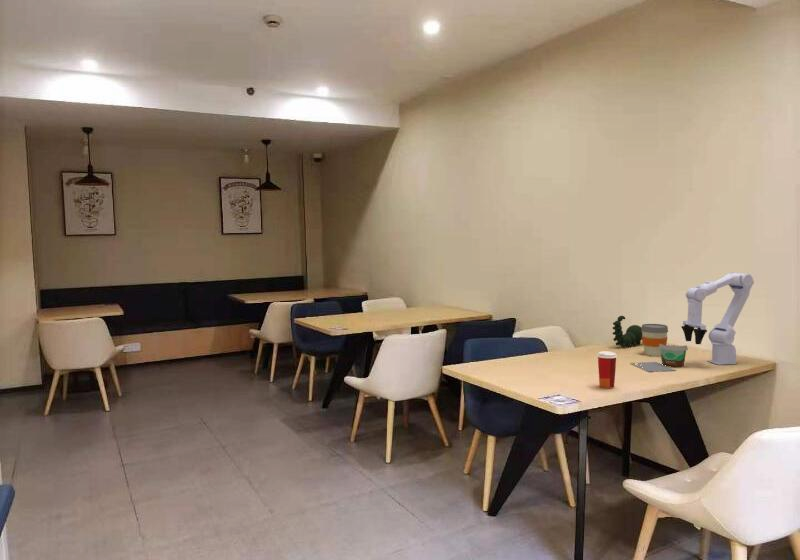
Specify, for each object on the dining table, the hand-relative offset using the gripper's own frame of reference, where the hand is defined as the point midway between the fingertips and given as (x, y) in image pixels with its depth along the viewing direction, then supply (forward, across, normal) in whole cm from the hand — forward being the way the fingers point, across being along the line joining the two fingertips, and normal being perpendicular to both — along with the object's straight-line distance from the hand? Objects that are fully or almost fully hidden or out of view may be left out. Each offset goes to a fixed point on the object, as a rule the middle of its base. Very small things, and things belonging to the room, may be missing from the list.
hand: (693, 342), depth 260 cm
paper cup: (+14, +27, -54) cm, 62 cm away
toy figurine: (+11, -49, -6) cm, 50 cm away
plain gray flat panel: (+12, -1, -19) cm, 22 cm away
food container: (+12, -1, -9) cm, 15 cm away
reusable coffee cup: (+11, -26, -4) cm, 28 cm away
